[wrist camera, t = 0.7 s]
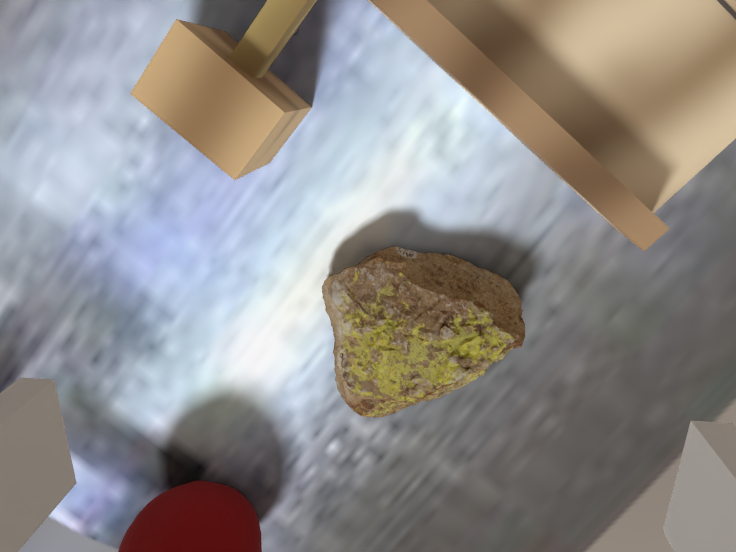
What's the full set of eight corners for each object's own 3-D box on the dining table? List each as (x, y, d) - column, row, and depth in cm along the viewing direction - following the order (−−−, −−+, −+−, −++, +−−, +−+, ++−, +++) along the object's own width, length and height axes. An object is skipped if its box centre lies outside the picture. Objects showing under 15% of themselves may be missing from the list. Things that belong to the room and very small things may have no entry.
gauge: (185, 91, 31) (130, 93, 25) (274, -43, 28) (234, -76, 22) (269, 162, 31) (234, 180, 26) (364, 38, 29) (348, 27, 23)
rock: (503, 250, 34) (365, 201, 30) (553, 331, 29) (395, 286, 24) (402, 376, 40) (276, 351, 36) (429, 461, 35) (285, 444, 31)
